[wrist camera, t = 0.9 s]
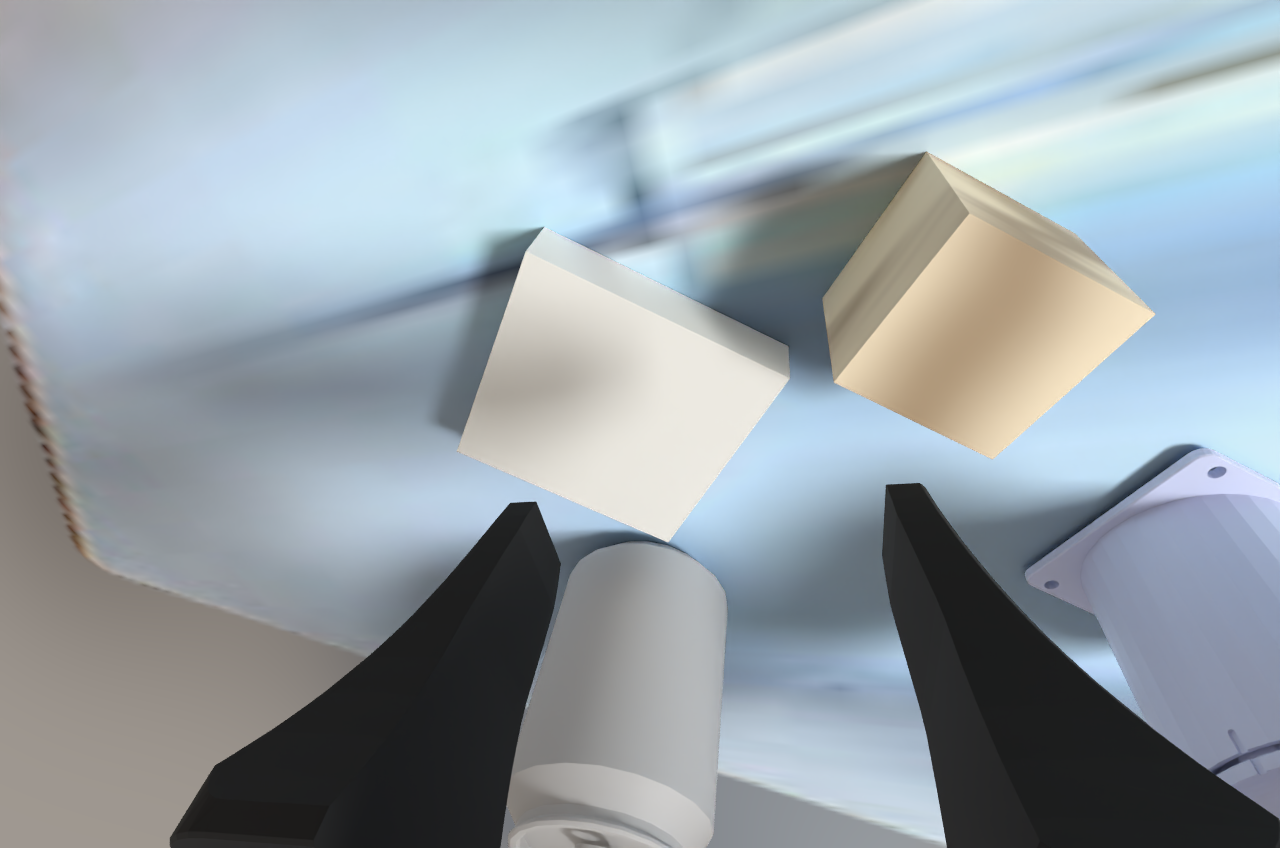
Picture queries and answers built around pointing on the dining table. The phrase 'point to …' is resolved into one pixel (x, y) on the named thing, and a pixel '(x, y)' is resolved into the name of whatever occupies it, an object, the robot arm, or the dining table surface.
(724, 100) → the dining table surface
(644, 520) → the coaster
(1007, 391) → the cube
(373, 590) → the dining table surface
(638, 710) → the can
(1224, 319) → the dining table surface
